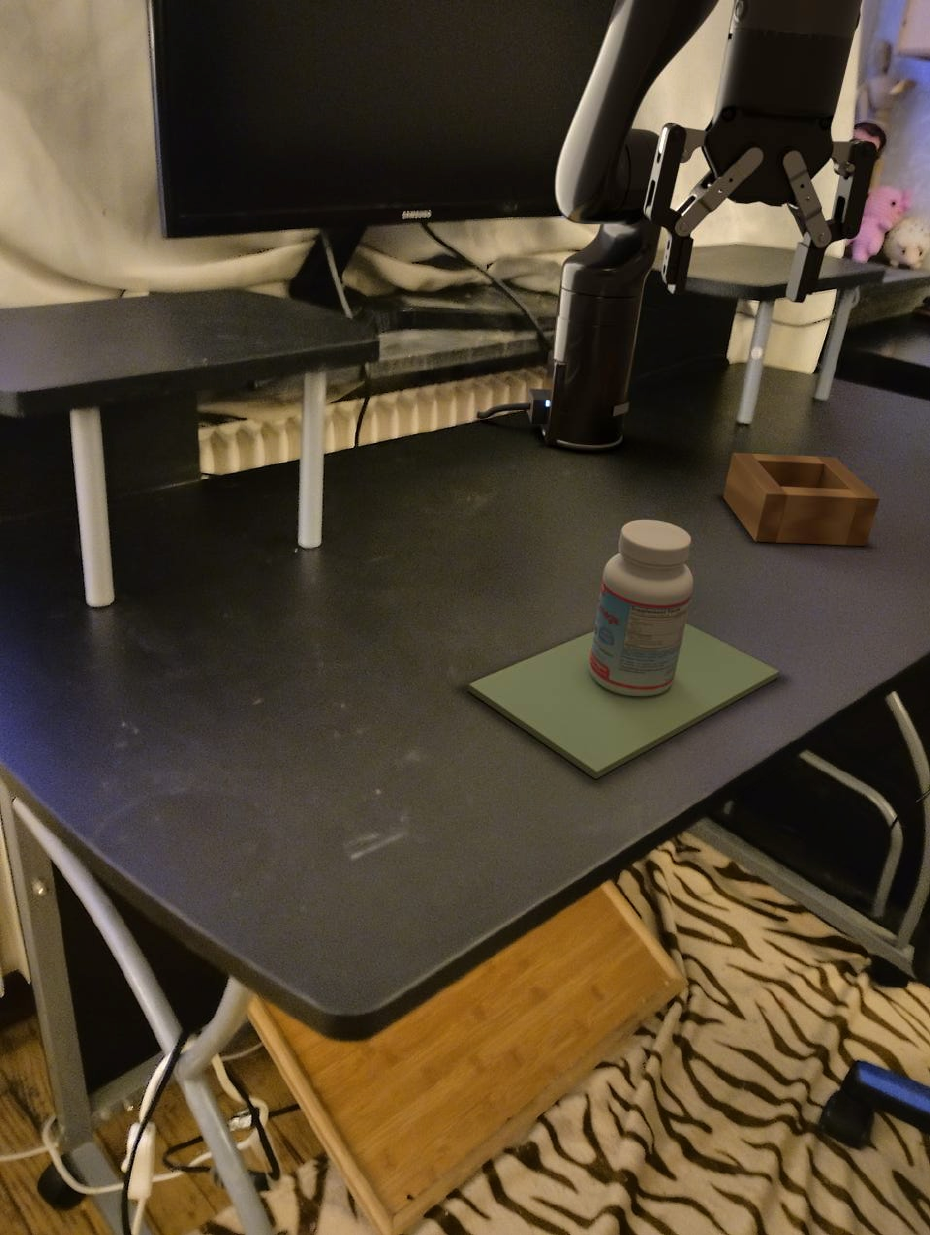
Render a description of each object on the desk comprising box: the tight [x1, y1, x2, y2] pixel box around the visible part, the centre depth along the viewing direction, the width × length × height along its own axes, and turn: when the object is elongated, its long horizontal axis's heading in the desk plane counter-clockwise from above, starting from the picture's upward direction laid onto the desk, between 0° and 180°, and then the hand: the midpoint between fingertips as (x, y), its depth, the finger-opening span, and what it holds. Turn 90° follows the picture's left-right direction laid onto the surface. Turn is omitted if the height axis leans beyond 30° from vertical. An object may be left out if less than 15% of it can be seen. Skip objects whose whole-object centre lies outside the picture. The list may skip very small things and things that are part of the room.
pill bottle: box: [589, 519, 694, 696], centre depth 67 cm, size 6×6×11 cm
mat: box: [467, 622, 780, 780], centre depth 70 cm, size 20×12×1 cm, turn 131°
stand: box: [722, 452, 881, 547], centre depth 98 cm, size 11×11×5 cm
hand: (734, 296), depth 69 cm, fingers open, 8 cm apart
